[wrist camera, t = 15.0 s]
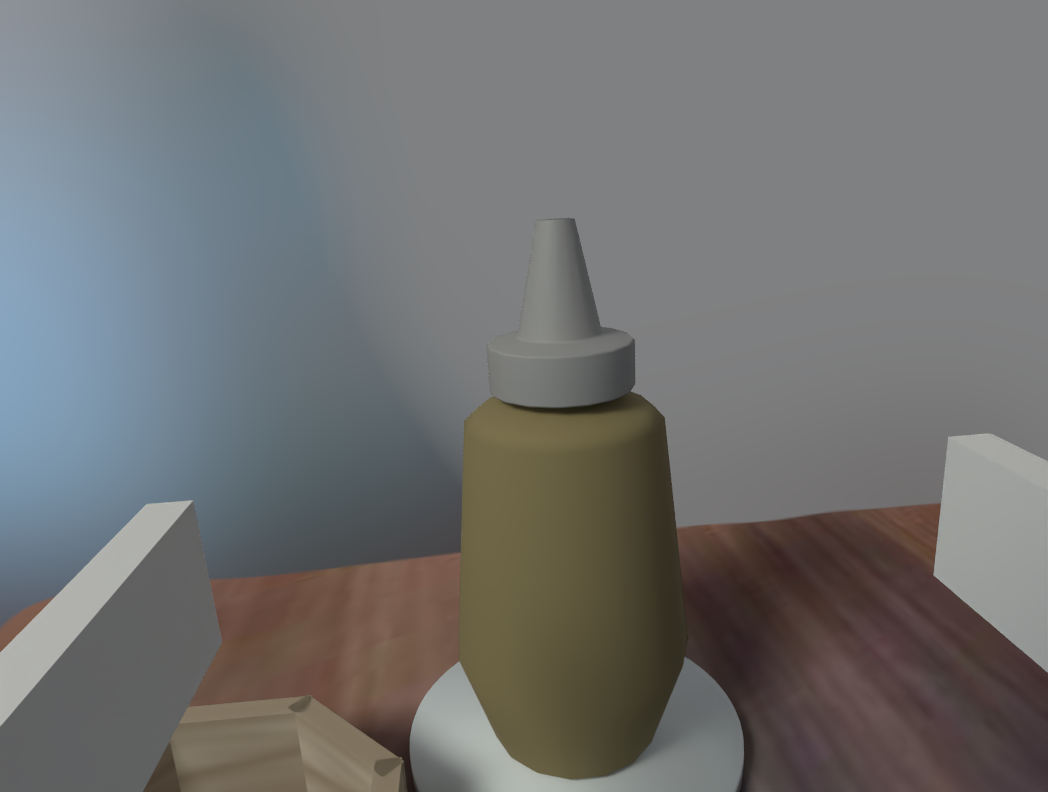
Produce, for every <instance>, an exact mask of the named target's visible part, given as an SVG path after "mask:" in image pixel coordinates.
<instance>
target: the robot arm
mask: <svg viewBox="0 0 1048 792" xmlns="http://www.w3.org/2000/svg"><path fill="white" fill-rule="evenodd" d="M934 576H935V577H936V578H937V579H939V580H940V581H941V582H942V583H943V584H944V585H946V586H947V587H948V588H949V589H950V590H952V591H953V592H954V593H955V594H956V595H957V596H959V597H960V598H961V599H962V600H963V601H964V602H966V603H967V604H968V605H969V606H970V607H971V608H973V609H974V610H975V611H976V612H977V613H979V614H980V615H981V616H982V617H983V618H984V619H986V620H987V621H988V622H989V623H990V624H991V625H993V626H994V627H995V628H996V629H997V630H998V631H1000V632H1001V633H1002V634H1003V635H1004V636H1006V637H1007V638H1008V639H1009V640H1010V641H1011V642H1013V643H1014V644H1015V645H1016V646H1017V647H1018V648H1020V649H1021V650H1022V651H1023V652H1024V653H1025V654H1027V655H1028V656H1029V657H1030V658H1031V659H1033V660H1034V661H1035V662H1036V663H1037V664H1038V665H1040V666H1041V667H1042V668H1043V669H1044V670H1045V671H1047V672H1048V461H1046V460H1044V459H1041V458H1040V457H1038V456H1035V455H1034V454H1031V453H1029V452H1027V451H1025V450H1023V449H1021V448H1019V447H1017V446H1015V445H1013V444H1011V443H1009V442H1007V441H1005V440H1003V439H1001V438H999V437H997V436H995V435H993V434H990V433H988V434H976V435H965V436H953V437H948V446H947V455H946V465H945V474H944V483H943V493H942V502H941V511H940V520H939V530H938V539H937V548H936V557H935V567H934ZM221 643H222V639H221V634H220V630H219V625H218V620H217V615H216V610H215V605H214V600H213V595H212V590H211V585H210V580H209V576H208V571H207V566H206V561H205V556H204V551H203V546H202V542H201V536H200V531H199V526H198V521H197V517H196V511H195V507H194V502H193V500H191V501H179V502H168V503H156V504H146V506H144V508H142V509H141V510H140V512H138V513H137V515H136V516H135V517H134V518H133V519H132V520H131V521H130V522H129V523H128V524H127V525H126V526H125V527H124V528H123V529H122V530H121V531H120V532H119V533H118V534H117V535H116V536H115V537H114V538H113V539H112V540H111V541H110V542H109V543H108V544H107V545H106V546H105V547H104V548H103V549H102V550H101V551H100V552H99V553H98V554H97V555H96V556H95V557H94V558H93V559H92V560H91V561H90V562H89V563H88V564H87V565H86V566H85V567H84V568H83V570H81V571H80V572H79V573H78V574H77V575H76V576H75V577H74V578H73V579H72V580H71V581H70V582H69V583H68V584H67V586H66V587H65V588H64V589H63V590H62V591H61V592H60V593H59V594H58V595H57V596H56V597H55V598H54V599H53V600H52V601H51V602H50V603H49V604H48V605H47V606H46V607H45V608H44V609H43V610H42V611H41V612H40V613H39V614H38V615H37V616H36V617H35V618H34V619H33V620H32V621H31V622H30V623H29V624H28V625H27V626H26V627H25V628H24V629H23V630H22V631H21V632H20V633H19V634H18V635H17V636H16V637H15V638H14V639H13V640H12V641H11V642H10V643H9V644H8V645H7V646H6V647H5V648H4V649H3V650H2V651H1V652H0V792H143V790H144V788H145V787H146V785H147V783H148V781H149V779H150V777H151V775H152V773H153V772H154V770H155V768H156V766H157V764H158V762H159V760H160V758H161V756H162V755H163V753H164V751H165V749H166V747H167V745H168V743H169V741H170V739H171V738H172V736H173V734H174V732H175V730H176V728H177V726H178V724H179V722H180V721H181V719H182V717H183V715H184V713H185V711H186V709H187V707H188V705H189V704H190V702H191V700H192V698H193V696H194V694H195V692H196V690H197V688H198V687H199V685H200V683H201V681H202V679H203V677H204V675H205V673H206V671H207V670H208V668H209V666H210V664H211V662H212V660H213V658H214V656H215V655H216V653H217V651H218V649H219V647H220V645H221Z"/></svg>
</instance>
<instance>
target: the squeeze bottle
mask: <svg viewBox="0 0 1048 792" xmlns="http://www.w3.org/2000/svg"><path fill="white" fill-rule="evenodd" d="M487 354H488V370H489V385H490V392H491V395H492V396H494V397H491V398H489V399H488V400H487V401H485V403H483V404H482V405H481V406H479V407H478V408H477V409H476V410H475V411H474V412H473V413H472V414H471V415H470V416H469V417H468V418H467V419H466V420H465V421H464V450H463V451H464V452H463V453H464V454H463V490H462V530H461V531H462V534H461V570H460V609H459V662H460V664H461V666H462V668H463V670H464V672H465V674H466V676H467V678H468V680H469V682H470V684H471V686H472V688H473V690H474V692H475V694H476V696H477V698H478V700H479V702H480V704H481V706H482V708H483V710H484V712H485V714H486V716H487V718H488V720H489V722H490V725H491V727H492V729H493V731H494V733H495V735H496V737H497V738H498V740H499V741H500V742H501V744H502V745H503V747H504V748H505V750H506V751H507V752H508V754H509V755H510V757H511V758H513V759H514V760H516V761H518V762H519V763H521V764H523V765H525V766H526V767H528V768H530V769H531V770H533V771H535V772H536V773H540V774H545V775H550V776H556V777H561V778H566V779H579V778H588V777H597V776H605V775H608V774H610V773H612V772H614V771H616V770H618V769H620V768H622V767H625V766H627V765H629V764H631V763H633V762H634V761H635V760H636V759H637V758H638V757H639V756H640V755H641V753H642V752H643V751H644V750H645V749H646V748H647V747H648V746H649V744H650V743H651V742H652V740H653V737H654V735H655V732H656V730H657V728H658V725H659V723H660V720H661V718H662V716H663V713H664V711H665V708H666V706H667V703H668V701H669V699H670V696H671V694H672V691H673V689H674V687H675V684H676V682H677V679H678V677H679V675H680V672H681V670H682V667H683V663H684V657H685V652H686V646H687V640H688V636H687V626H686V617H685V607H684V597H683V588H682V578H681V569H680V559H679V550H678V540H677V531H676V521H675V512H674V502H673V494H672V483H671V474H670V465H669V455H668V445H667V436H666V426H665V418H664V417H663V415H662V414H661V413H660V412H659V411H658V410H657V409H656V408H655V407H654V406H653V405H652V404H651V403H650V402H648V401H647V400H646V399H645V398H643V397H642V396H641V395H638V394H636V393H633V392H630V391H631V390H632V388H633V386H634V385H635V340H634V339H633V338H632V337H631V336H630V335H629V334H628V333H627V332H624V331H620V330H616V329H612V328H604V327H601V326H600V322H599V318H598V313H597V309H596V305H595V301H594V297H593V293H592V289H591V285H590V281H589V276H588V272H587V268H586V264H585V260H584V256H583V252H582V247H581V243H580V239H579V235H578V231H577V227H576V223H575V219H571V218H570V219H569V218H566V219H545V220H537V221H536V223H535V229H534V235H533V242H532V248H531V254H530V260H529V267H528V273H527V280H526V285H525V291H524V298H523V304H522V310H521V317H520V324H519V329H518V331H514V332H510V333H506V334H503V335H499V336H497V337H495V338H494V339H492V340H491V341H489V342H488V343H487Z"/></svg>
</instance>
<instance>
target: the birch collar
mask: <svg viewBox="0 0 1048 792" xmlns="http://www.w3.org/2000/svg"><path fill="white" fill-rule="evenodd" d="M143 792H407V783H406V775H405V766H404V761H403V760H402V757H400V758H399V757H397V756H396V755H394V754H393V753H391V752H390V751H388V750H387V749H386V748H384V747H383V746H381V745H380V744H378V743H377V742H376V741H374V740H373V739H371V738H370V737H368V736H367V735H365V734H364V733H363V732H361V731H360V730H358V729H357V728H355V727H354V726H352V725H351V724H350V723H348V722H347V721H345V720H344V719H342V718H341V717H339V716H338V715H337V714H335V713H334V712H332V711H331V710H329V709H328V708H326V707H325V706H324V705H322V704H321V703H319V702H318V701H316V700H315V699H313V696H309V695H307V696H302V697H292V698H281V699H270V700H260V701H249V702H238V703H227V704H217V705H206V706H195V707H187V709H186V711H185V713H184V715H183V717H182V719H181V721H180V722H179V724H178V726H177V728H176V730H175V732H174V734H173V736H172V738H171V739H170V741H169V743H168V745H167V747H166V749H165V751H164V753H163V755H162V756H161V758H160V760H159V762H158V764H157V766H156V768H155V770H154V772H153V773H152V775H151V777H150V779H149V781H148V783H147V785H146V787H145V788H144V790H143Z"/></svg>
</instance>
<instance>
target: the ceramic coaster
mask: <svg viewBox="0 0 1048 792" xmlns="http://www.w3.org/2000/svg"><path fill="white" fill-rule="evenodd" d="M410 761H411V770H412V777H413V782H414V788H415V791H416V792H740V790H741V784H742V777H743V766H744V740H743V733H742V728H741V724H740V720H739V718H738V716H737V713H736V711H735V708H734V706H733V705H732V703H731V701H730V700H729V698H728V696H727V695H726V693H725V692H724V691H723V689H722V688H721V687H720V686H719V685H718V684H717V682H716V681H715V680H714V679H713V678H712V677H711V676H710V675H709V674H707V673H706V672H705V671H704V670H703V669H702V668H701V667H699V666H698V665H696V664H695V663H694V662H692V661H691V660H690V659H688V658H686V657H684V663H683V667H682V670H681V672H680V675H679V677H678V679H677V682H676V684H675V687H674V689H673V691H672V694H671V696H670V699H669V701H668V703H667V706H666V708H665V711H664V713H663V716H662V718H661V720H660V723H659V725H658V728H657V730H656V732H655V735H654V737H653V740H652V742H651V743H650V744H649V746H648V747H647V748H646V749H645V750H644V751H643V752H642V753H641V755H640V756H639V757H638V758H637V759H636V760H635V761H634V762H633V763H631V764H629V765H627V766H625V767H622V768H620V769H618V770H616V771H614V772H612V773H610V774H608V775H605V776H597V777H588V778H579V779H566V778H561V777H556V776H550V775H545V774H540V773H536V772H535V771H533V770H531V769H530V768H528V767H526V766H525V765H523V764H521V763H519V762H518V761H516V760H514V759H513V758H511V757H510V755H509V754H508V752H507V751H506V750H505V748H504V747H503V745H502V744H501V742H500V741H499V740H498V738H497V737H496V735H495V733H494V731H493V729H492V727H491V725H490V722H489V720H488V718H487V716H486V714H485V712H484V710H483V708H482V706H481V704H480V702H479V700H478V698H477V696H476V694H475V692H474V690H473V688H472V686H471V684H470V682H469V680H468V678H467V676H466V674H465V672H464V670H463V668H462V666H461V664H460V662H458V663H457V664H456V665H454V666H453V667H452V668H450V669H449V670H448V671H447V672H446V673H445V674H444V675H443V676H442V677H441V678H440V679H439V680H438V681H437V682H436V683H435V684H434V685H433V686H432V688H431V689H430V690H429V691H428V693H427V694H426V695H425V697H424V699H423V701H422V702H421V704H420V706H419V708H418V710H417V713H416V715H415V718H414V721H413V724H412V729H411V734H410Z"/></svg>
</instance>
